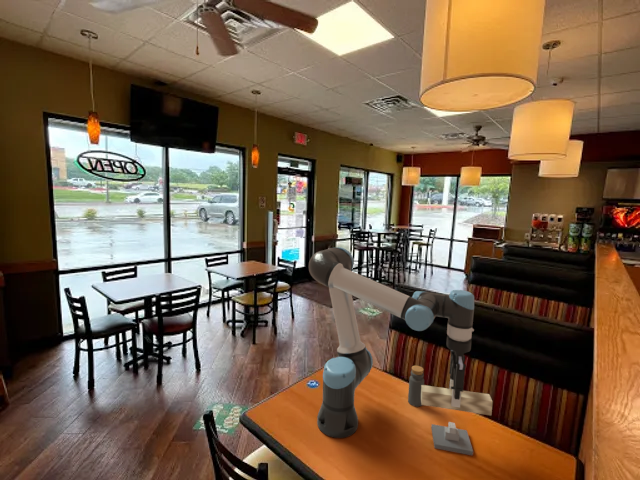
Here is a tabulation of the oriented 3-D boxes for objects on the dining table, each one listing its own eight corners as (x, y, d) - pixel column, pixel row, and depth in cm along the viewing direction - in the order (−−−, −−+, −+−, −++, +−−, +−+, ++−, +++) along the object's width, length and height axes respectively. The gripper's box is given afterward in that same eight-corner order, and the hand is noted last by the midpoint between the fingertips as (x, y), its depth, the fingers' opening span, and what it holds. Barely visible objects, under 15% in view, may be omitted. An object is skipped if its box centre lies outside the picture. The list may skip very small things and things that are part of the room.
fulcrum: (434, 448, 107) (435, 431, 107) (431, 427, 117) (432, 412, 116) (472, 455, 105) (474, 439, 104) (466, 434, 114) (467, 418, 114)
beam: (488, 407, 108) (489, 394, 108) (491, 415, 104) (492, 401, 104) (420, 397, 113) (421, 384, 113) (421, 404, 110) (422, 391, 109)
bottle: (423, 407, 128) (425, 373, 126) (408, 405, 130) (410, 371, 128) (421, 399, 134) (424, 365, 132) (407, 397, 135) (409, 363, 133)
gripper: (477, 349, 97) (471, 420, 100) (466, 328, 113) (461, 389, 116) (451, 346, 99) (446, 416, 101) (443, 326, 115) (439, 386, 118)
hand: (454, 401), depth 109 cm, fingers closed on beam, 4 cm apart
